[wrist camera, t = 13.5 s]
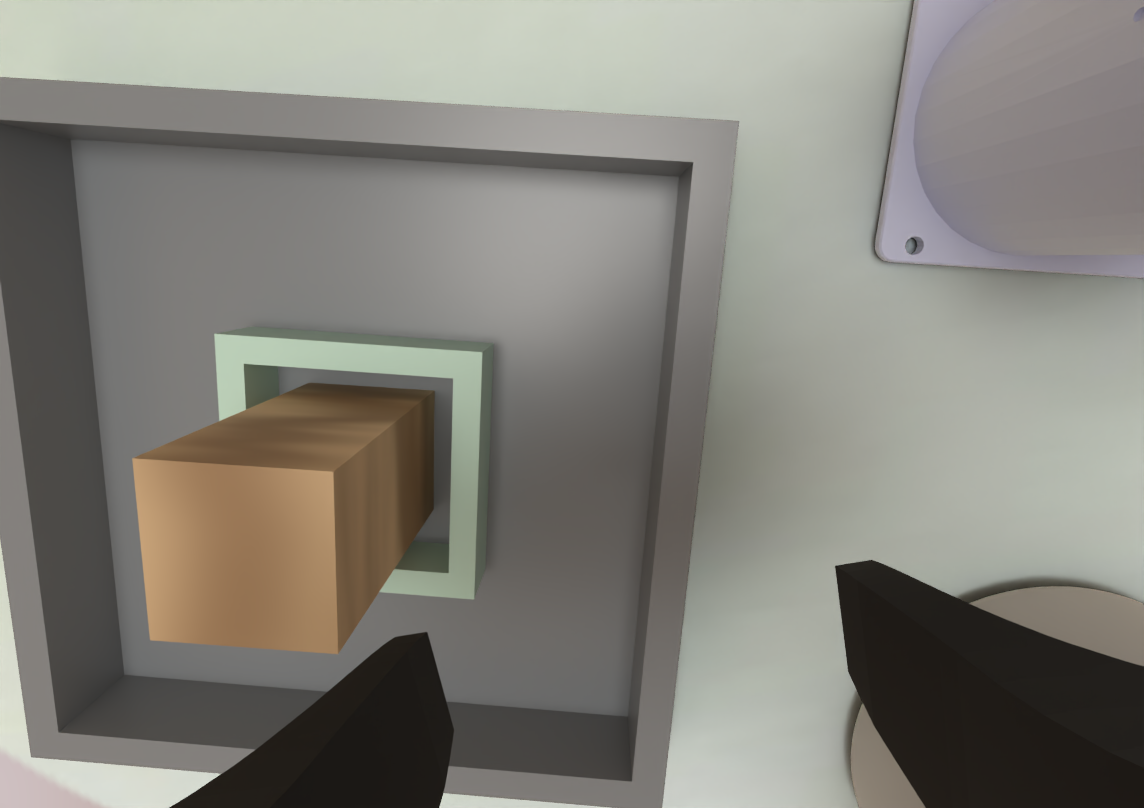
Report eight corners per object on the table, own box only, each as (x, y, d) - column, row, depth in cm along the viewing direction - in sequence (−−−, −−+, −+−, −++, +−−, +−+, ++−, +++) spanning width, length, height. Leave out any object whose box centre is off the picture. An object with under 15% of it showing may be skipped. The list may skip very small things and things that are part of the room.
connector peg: (434, 390, 20) (333, 471, 13) (433, 509, 21) (337, 653, 14) (309, 382, 21) (132, 458, 13) (313, 501, 21) (150, 640, 14)
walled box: (714, 145, 19) (739, 121, 16) (652, 731, 24) (661, 811, 20) (50, 105, 20) (-66, 73, 16) (111, 686, 24) (30, 757, 21)
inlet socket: (493, 343, 20) (482, 352, 18) (485, 568, 22) (474, 599, 20) (251, 326, 20) (214, 333, 18) (261, 551, 22) (228, 580, 20)
